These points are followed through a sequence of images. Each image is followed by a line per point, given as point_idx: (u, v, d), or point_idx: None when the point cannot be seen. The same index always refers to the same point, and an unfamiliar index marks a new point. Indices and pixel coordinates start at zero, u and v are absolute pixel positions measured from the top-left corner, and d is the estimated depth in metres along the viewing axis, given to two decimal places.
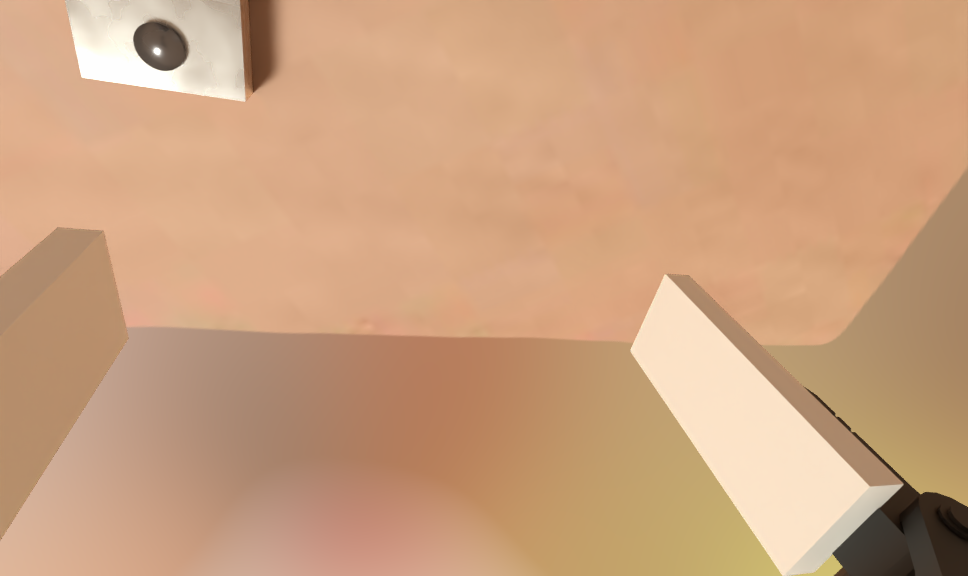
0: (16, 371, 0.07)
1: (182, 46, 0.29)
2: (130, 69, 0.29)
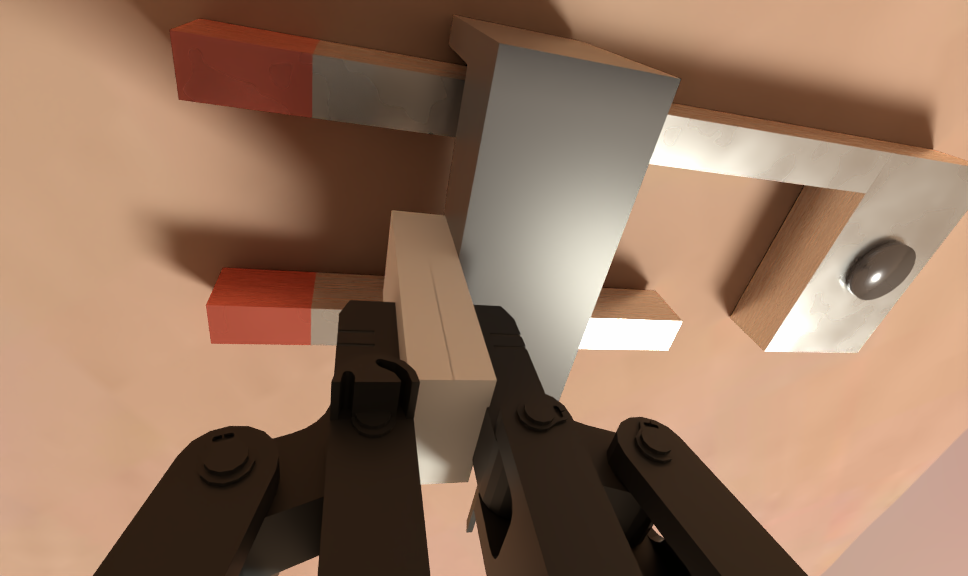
0: None
1: (898, 245, 0.19)
2: (877, 306, 0.21)
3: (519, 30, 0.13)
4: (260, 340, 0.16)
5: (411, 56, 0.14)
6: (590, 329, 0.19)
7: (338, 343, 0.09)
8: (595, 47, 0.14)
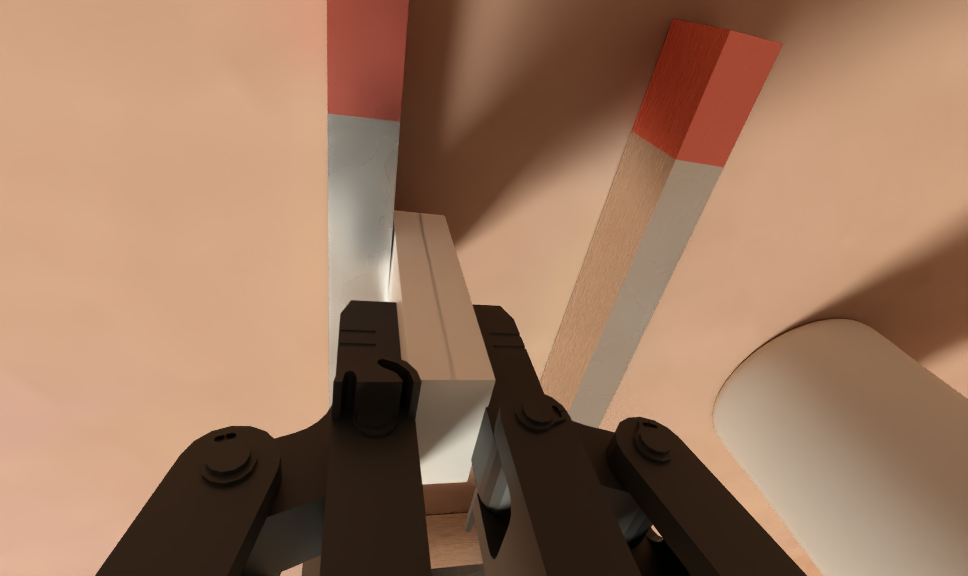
0: None
1: None
2: None
3: None
4: (334, 31, 0.09)
5: None
6: None
7: (339, 343, 0.09)
8: None
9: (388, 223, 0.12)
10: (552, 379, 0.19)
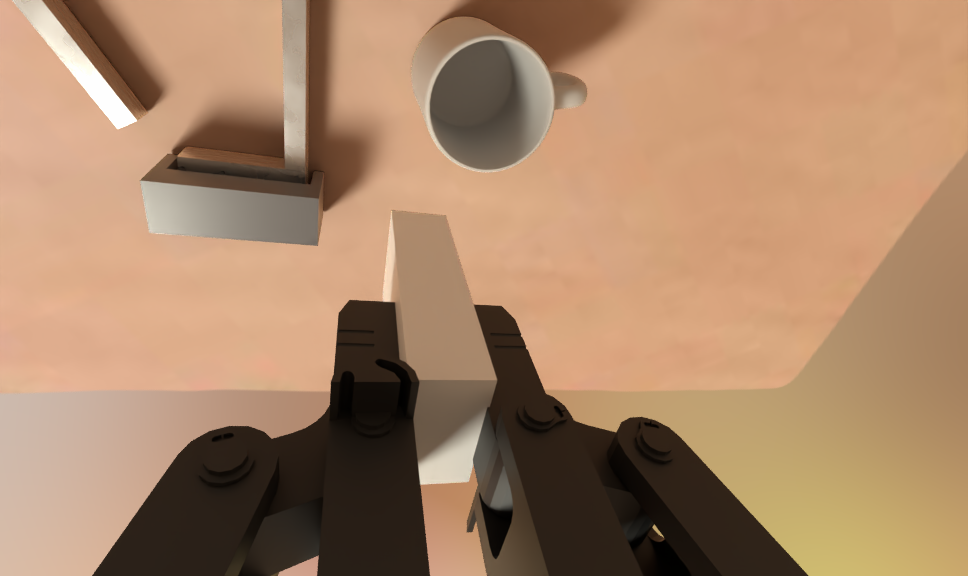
0: None
1: None
2: None
3: (322, 195, 0.41)
4: None
5: None
6: (85, 67, 0.32)
7: (338, 343, 0.09)
8: (321, 220, 0.42)
9: None
10: None
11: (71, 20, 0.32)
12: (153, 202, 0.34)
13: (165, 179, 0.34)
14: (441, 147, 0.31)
